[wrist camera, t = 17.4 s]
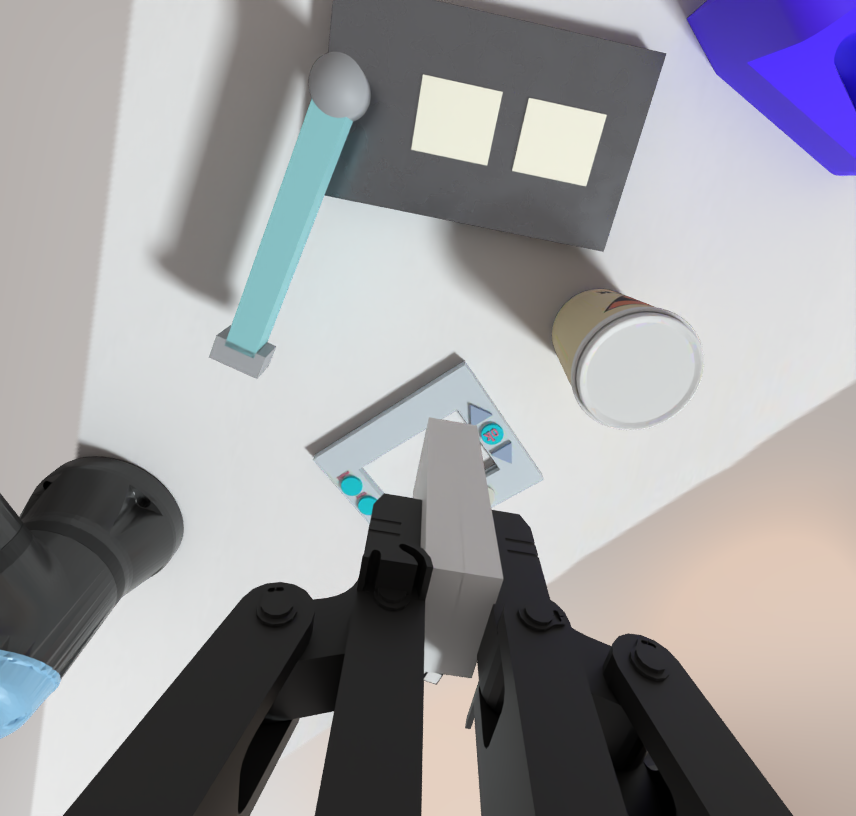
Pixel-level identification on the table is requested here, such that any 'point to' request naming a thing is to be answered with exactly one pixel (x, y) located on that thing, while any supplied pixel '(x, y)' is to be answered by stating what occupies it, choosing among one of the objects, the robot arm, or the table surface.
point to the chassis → (518, 80)
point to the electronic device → (412, 418)
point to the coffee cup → (627, 359)
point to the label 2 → (558, 142)
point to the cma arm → (294, 210)
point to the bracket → (790, 67)
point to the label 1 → (456, 120)
